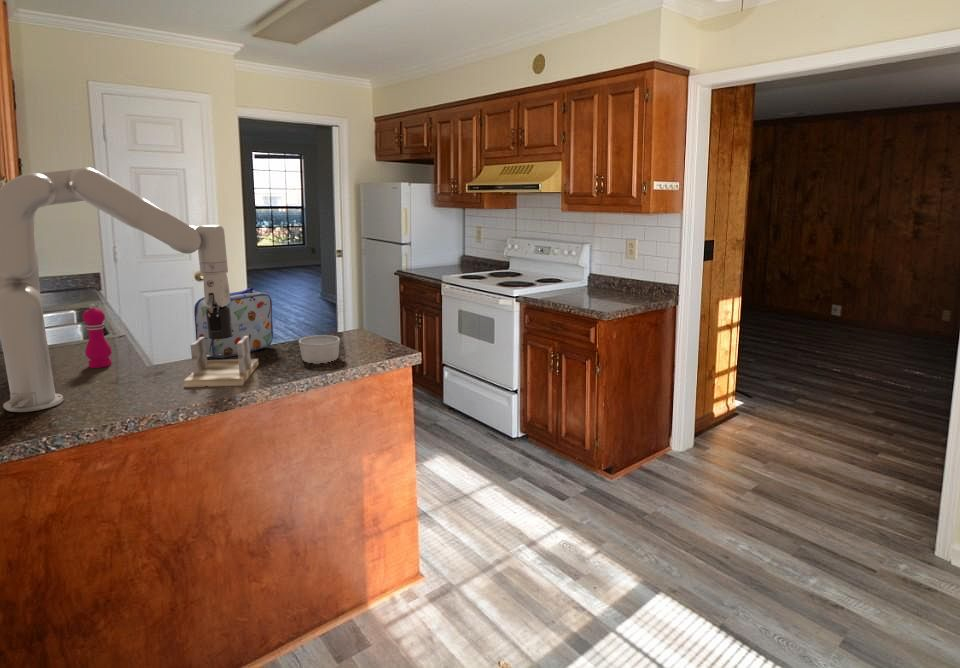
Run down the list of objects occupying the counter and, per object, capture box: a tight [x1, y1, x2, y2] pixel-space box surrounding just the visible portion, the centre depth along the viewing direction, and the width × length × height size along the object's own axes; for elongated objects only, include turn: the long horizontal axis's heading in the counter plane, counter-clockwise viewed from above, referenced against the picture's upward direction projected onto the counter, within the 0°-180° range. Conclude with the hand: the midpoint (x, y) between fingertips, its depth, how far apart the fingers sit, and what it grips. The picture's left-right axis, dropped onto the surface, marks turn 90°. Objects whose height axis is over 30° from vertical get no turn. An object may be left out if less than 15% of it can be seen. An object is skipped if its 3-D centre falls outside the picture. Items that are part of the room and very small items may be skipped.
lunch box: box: [193, 287, 274, 359], centre depth 218 cm, size 28×10×22 cm, turn 149°
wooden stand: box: [183, 336, 260, 388], centre depth 193 cm, size 22×16×11 cm
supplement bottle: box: [206, 305, 232, 339], centre depth 190 cm, size 7×7×12 cm
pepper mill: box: [82, 303, 113, 369], centre depth 202 cm, size 7×7×20 cm
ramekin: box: [298, 334, 341, 365], centre depth 211 cm, size 13×13×7 cm
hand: (219, 326), depth 191 cm, fingers closed on supplement bottle, 6 cm apart
